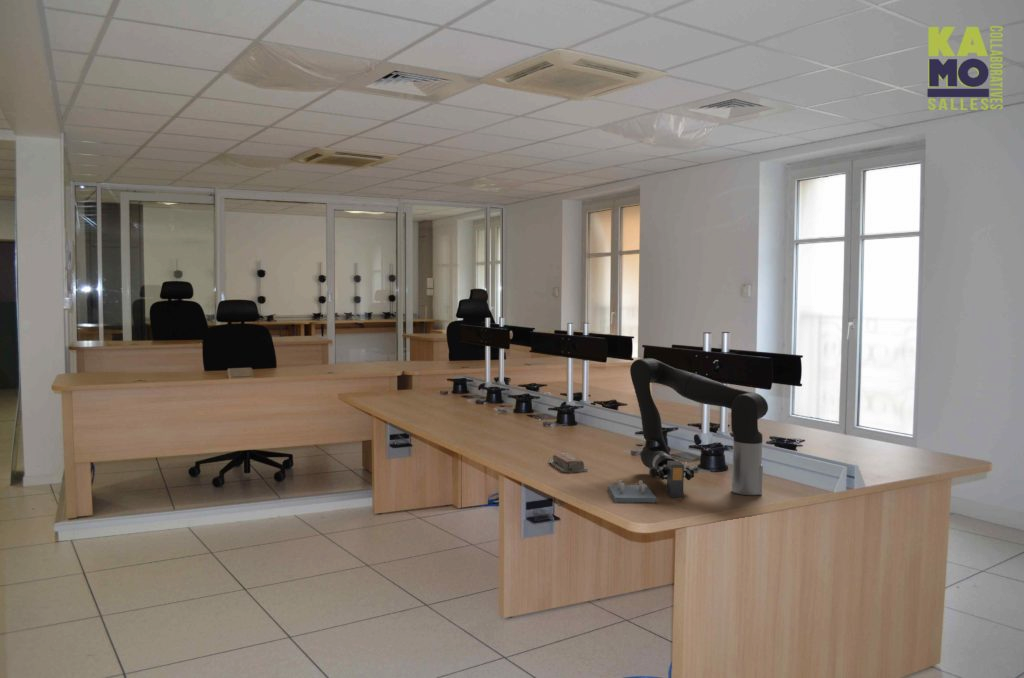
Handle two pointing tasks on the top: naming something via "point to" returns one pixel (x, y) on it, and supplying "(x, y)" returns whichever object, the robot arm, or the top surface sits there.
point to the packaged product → (568, 462)
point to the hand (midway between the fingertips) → (676, 476)
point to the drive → (675, 479)
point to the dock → (631, 492)
